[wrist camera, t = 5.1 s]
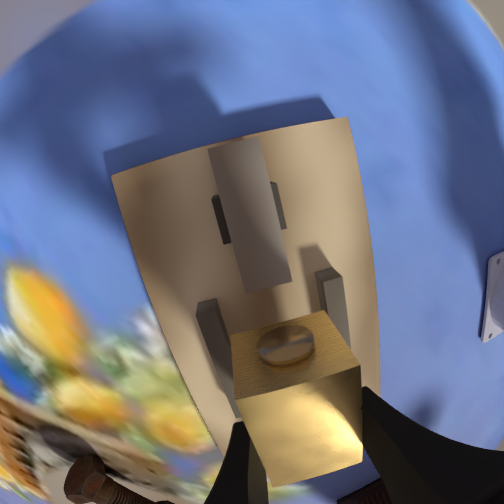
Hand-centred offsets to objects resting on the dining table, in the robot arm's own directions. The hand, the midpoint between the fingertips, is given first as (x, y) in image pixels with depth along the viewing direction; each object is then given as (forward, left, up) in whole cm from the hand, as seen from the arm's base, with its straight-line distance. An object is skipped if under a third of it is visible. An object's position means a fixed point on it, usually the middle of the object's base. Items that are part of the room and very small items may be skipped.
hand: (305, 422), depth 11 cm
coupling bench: (0, 0, -8) cm, 8 cm away
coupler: (0, 0, -3) cm, 3 cm away
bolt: (+17, +17, -8) cm, 26 cm away
